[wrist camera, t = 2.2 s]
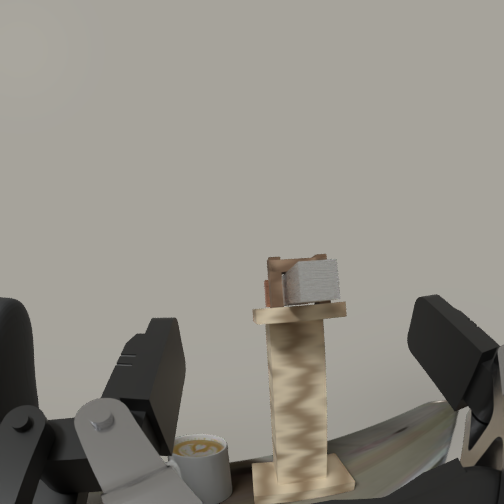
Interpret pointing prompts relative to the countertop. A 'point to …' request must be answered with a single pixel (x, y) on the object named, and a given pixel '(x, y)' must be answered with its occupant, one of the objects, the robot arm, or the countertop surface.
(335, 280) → the bar
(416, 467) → the countertop surface
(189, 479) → the coffee mug
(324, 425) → the shelf stand
